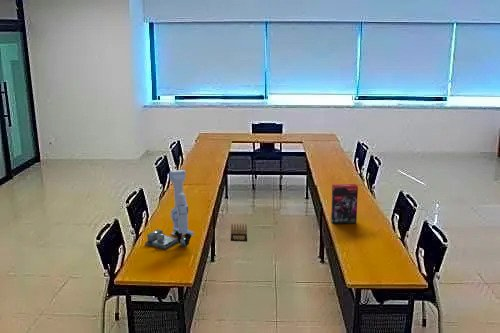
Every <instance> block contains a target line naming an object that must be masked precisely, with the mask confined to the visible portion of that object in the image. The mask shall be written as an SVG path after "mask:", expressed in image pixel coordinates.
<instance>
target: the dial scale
mask: <svg viewBox="0 0 500 333" xmlns="http://www.w3.org/2000/svg"><path fill="white" fill-rule="evenodd" d="M159 233H163V230H161V229H158V228H157V229H156V230H153V231H151V232H150V233H148V234H147V235H146V236H147V240H146V241H145V242H144V244H145V246H149V247H152V248H157V249H159V250H163V251H166V250H168V249H170V248H171V247H173V246H175V245H177V244H179V242H178V239H177V237H173V236H169V235H165V234H164V243H157V234H159Z"/></svg>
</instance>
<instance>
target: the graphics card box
mask: <svg viewBox="0 0 500 333" xmlns="http://www.w3.org/2000/svg"><path fill="white" fill-rule="evenodd" d="M331 187H332V188H331V217H330V220H331V223H332V224H333V225H340V224H341V225H343V224H344V225H345V224H357V220H358V219H357V218H358V193H359V187H358V184H356V183H348V184H347V183H346V184H345V183H342V184H341V183H340V184H332V186H331Z"/></svg>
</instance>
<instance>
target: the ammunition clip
mask: <svg viewBox="0 0 500 333" xmlns="http://www.w3.org/2000/svg"><path fill="white" fill-rule="evenodd" d="M230 242H244V243H247V242H248V227H247V223H245V225H244V223H242V224H241V223H237V224H236V223H234V224H233V223H231V226H230Z"/></svg>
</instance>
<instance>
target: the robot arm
mask: <svg viewBox="0 0 500 333" xmlns="http://www.w3.org/2000/svg"><path fill="white" fill-rule="evenodd" d="M186 175H187V174H186V170H185V169H180V170H179V169H176V170H170V171H169V181H170V183H172V185H173V192H174V193H173V194H174V195H173V196H174V207H173V208H172V209H170V218H171V222H172V223H173V228H172V231H173V232H172V233H170V234H171V235H172V236H175V238H177V239H178V244H180V238H181V237H185V240H186V245H187V246H189V245H190V240H191V238H192V236H194V235H195V232H194V231H192V230H190V229H188V228H189V219H188V218H189V216H188V214H189V206H188V203H187V197H186V194H185V193H184V184H183V183H184V182H185V181H186V178H187V176H186Z"/></svg>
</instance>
